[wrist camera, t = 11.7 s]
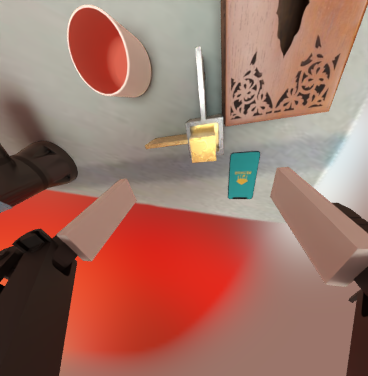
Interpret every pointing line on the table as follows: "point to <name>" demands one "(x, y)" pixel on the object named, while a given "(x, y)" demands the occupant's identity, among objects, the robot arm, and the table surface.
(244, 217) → the table surface
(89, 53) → the cup
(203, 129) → the pin
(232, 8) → the tissue box cover
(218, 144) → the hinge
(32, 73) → the table surface
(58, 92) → the table surface
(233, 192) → the smartphone
